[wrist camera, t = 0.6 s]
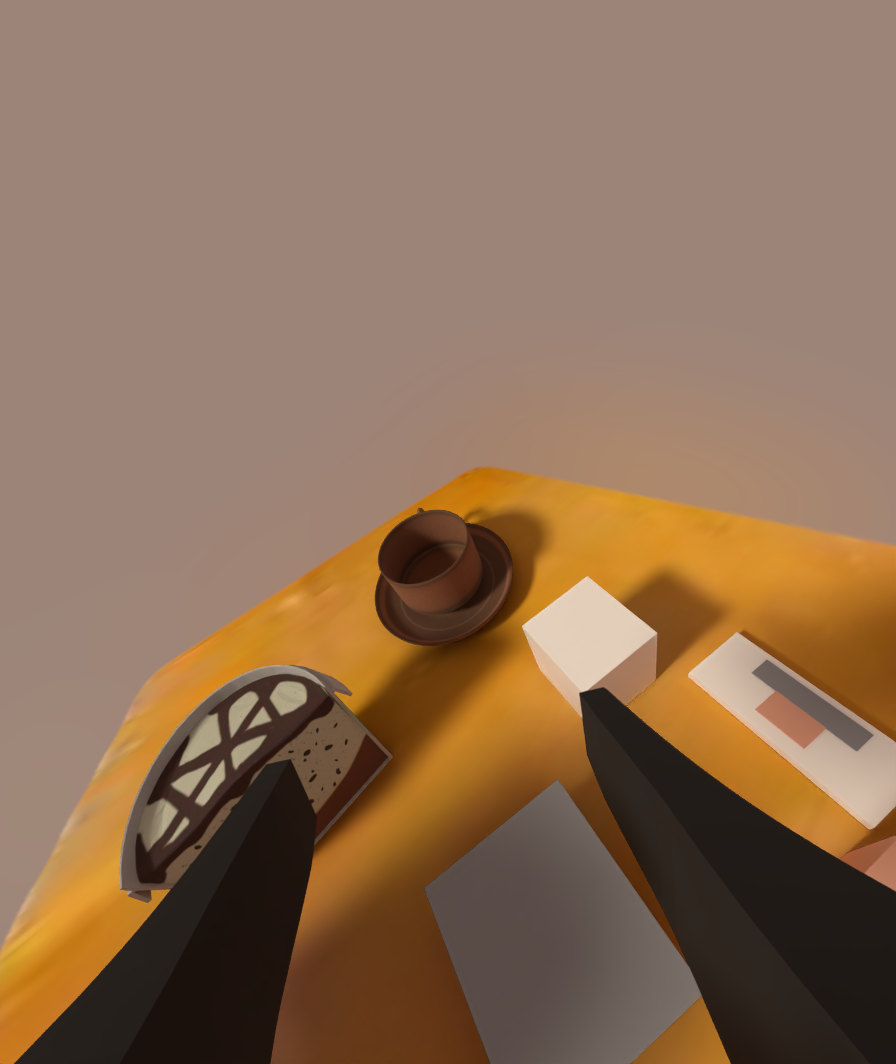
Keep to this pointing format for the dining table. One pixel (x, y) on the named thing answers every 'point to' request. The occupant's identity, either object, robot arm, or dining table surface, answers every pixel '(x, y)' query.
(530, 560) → the dining table surface
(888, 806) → the card
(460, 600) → the cup and saucer
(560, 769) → the dining table surface
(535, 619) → the off-white block
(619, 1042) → the charcoal base block
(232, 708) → the food container
